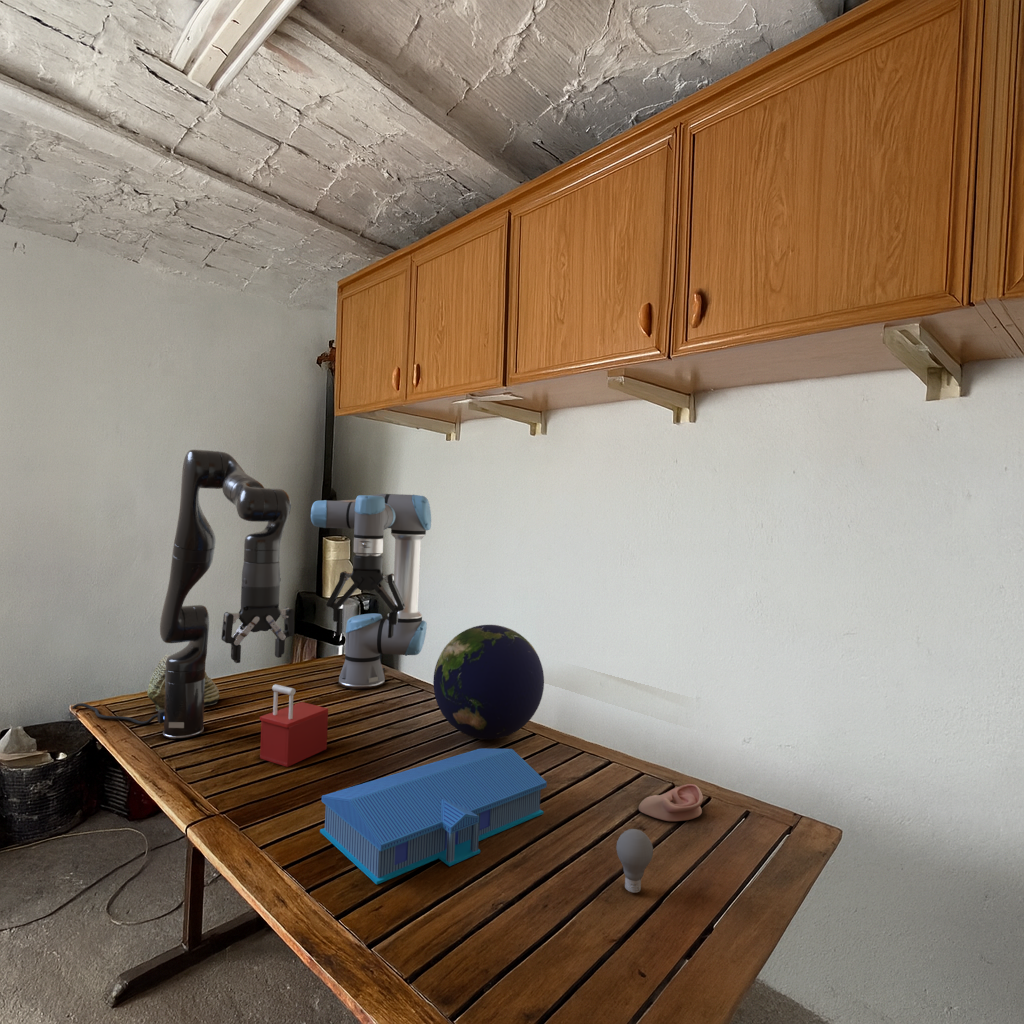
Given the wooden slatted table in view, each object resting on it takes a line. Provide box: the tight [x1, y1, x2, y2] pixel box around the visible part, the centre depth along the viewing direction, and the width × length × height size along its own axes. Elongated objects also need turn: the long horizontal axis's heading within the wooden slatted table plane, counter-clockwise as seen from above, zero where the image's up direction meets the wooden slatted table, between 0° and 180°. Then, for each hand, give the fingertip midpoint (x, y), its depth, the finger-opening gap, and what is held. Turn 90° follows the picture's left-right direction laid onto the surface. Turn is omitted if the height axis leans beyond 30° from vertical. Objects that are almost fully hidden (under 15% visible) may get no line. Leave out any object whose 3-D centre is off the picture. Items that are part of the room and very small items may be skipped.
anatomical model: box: [638, 783, 704, 822], centre depth 135 cm, size 13×4×12 cm
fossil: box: [147, 654, 221, 711], centre depth 185 cm, size 9×18×15 cm, turn 132°
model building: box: [319, 747, 548, 885], centre depth 124 cm, size 39×24×10 cm, turn 132°
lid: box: [259, 683, 329, 728], centre depth 155 cm, size 13×9×8 cm
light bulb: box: [615, 828, 654, 894], centre depth 106 cm, size 6×6×10 cm
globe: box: [432, 624, 545, 740], centre depth 172 cm, size 30×30×30 cm
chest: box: [259, 711, 329, 768], centre depth 155 cm, size 13×9×9 cm
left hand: (257, 659), depth 134 cm, fingers open, 8 cm apart
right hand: (364, 635), depth 165 cm, fingers open, 13 cm apart
